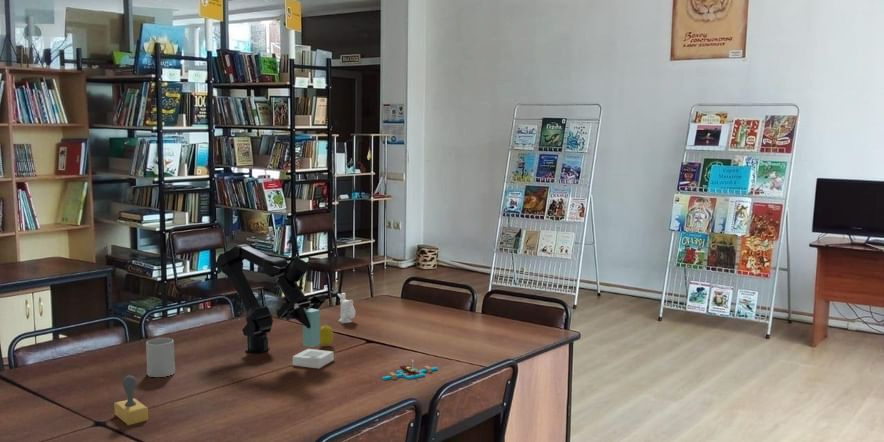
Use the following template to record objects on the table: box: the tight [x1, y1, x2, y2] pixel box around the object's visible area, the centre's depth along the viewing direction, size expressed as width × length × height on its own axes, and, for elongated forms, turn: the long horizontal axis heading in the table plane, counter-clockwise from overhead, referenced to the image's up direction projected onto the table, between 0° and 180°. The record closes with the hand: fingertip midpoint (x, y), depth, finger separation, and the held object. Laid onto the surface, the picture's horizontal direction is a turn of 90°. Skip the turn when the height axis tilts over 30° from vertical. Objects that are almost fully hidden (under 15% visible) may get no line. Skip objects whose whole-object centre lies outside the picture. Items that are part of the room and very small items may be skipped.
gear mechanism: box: [381, 360, 439, 381], centre depth 250 cm, size 20×5×9 cm
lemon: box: [320, 324, 334, 347], centre depth 281 cm, size 6×6×8 cm
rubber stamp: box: [113, 374, 149, 426], centre depth 211 cm, size 10×6×12 cm, turn 41°
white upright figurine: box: [337, 292, 356, 324], centre depth 316 cm, size 8×7×12 cm
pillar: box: [302, 308, 321, 348], centre depth 259 cm, size 4×4×12 cm
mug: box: [145, 337, 176, 377], centre depth 250 cm, size 12×8×11 cm
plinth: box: [292, 348, 334, 369], centre depth 262 cm, size 10×10×3 cm
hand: (314, 326), depth 258 cm, fingers closed on pillar, 4 cm apart
